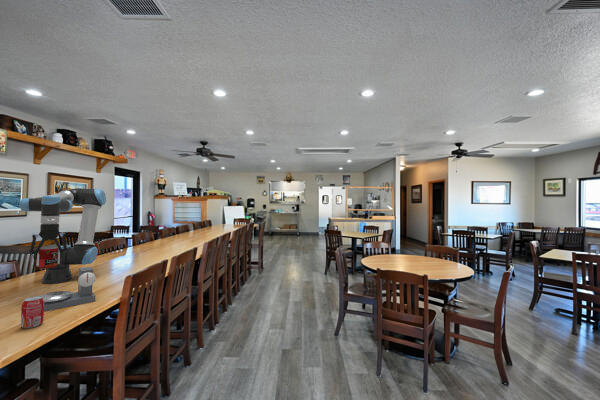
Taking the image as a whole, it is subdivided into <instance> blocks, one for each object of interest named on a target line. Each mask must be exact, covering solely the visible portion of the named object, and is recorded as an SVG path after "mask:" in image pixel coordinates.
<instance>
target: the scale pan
mask: <svg viewBox="0 0 600 400" xmlns="http://www.w3.org/2000/svg"><path fill="white" fill-rule="evenodd" d="M72 293H73V292H72V291H71V290H70V291H69V290H59V291H52V292H47V293H43V294H40V295H39V296H42V298H43V299H44V302H53V301H59V300H63V299H66V298H69V297H71V296H72Z"/></svg>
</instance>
